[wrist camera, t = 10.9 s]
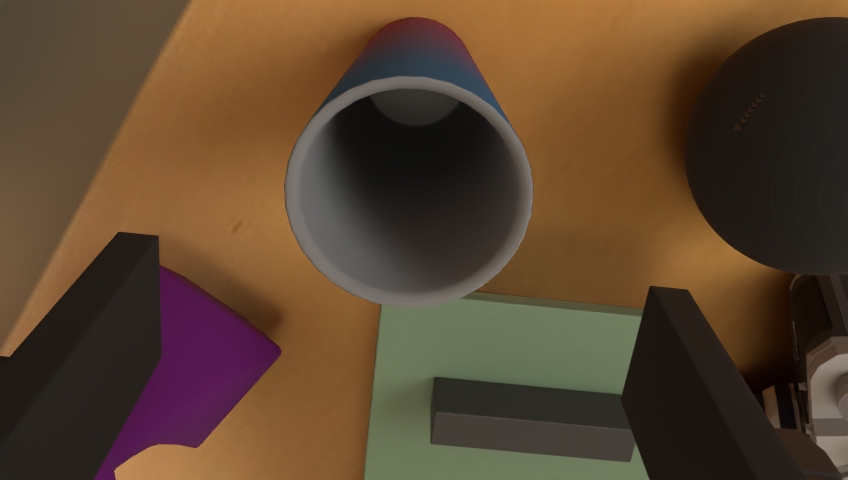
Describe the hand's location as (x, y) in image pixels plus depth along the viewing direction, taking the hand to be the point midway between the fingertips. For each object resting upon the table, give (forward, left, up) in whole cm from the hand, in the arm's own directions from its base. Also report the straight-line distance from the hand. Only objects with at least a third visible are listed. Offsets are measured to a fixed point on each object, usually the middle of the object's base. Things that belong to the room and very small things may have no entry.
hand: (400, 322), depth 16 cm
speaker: (+16, 0, -22) cm, 27 cm away
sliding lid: (+6, -13, -15) cm, 21 cm away
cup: (0, 0, -22) cm, 22 cm away
